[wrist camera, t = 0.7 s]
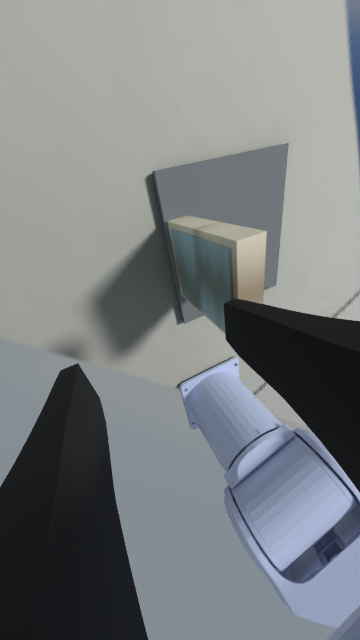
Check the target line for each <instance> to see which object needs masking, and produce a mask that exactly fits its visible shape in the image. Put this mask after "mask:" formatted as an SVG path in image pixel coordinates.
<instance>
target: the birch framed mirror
mask: <svg viewBox="0 0 360 640" xmlns="http://www.w3.org/2000/svg"><path fill="white" fill-rule="evenodd" d="M167 223H168V229H169V234H170V239H171V244H172V249H173V255H174V260H175V265H176V270H177V275H178V281H179V286H180V291H181V295H182V296H183V297H184V298H185V299H186V300H188V301H189V302H190V303H191V304H192V305H193V306H194V307H196V308H197V309H198V310H199V311H200V312H201V313H202V314H203V315H205V316H206V317H207V318H208V319H209V320H210V321H211V322H212V323H214V324H215V325H216V326H217V327H218V328H219V329H220V330H221V331H223V332H224V333H225V319H224V305H223V303H226V302H228V301H230V300H233V299H242V300H247V301H251V302H256V303H260V304H263V294H264V275H265V256H266V237H267V231H264V230H259V229H254V228H249V227H243V226H238V225H233V224H228V223H223V222H218V221H213V220H207V219H202V218H197V217H192V216H184V217H180V218H176V219H173V220H169V221H167Z"/></svg>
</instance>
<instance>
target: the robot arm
mask: <svg viewBox="0 0 360 640" xmlns="http://www.w3.org/2000/svg"><path fill="white" fill-rule="evenodd" d="M223 305H224V319H225V334H226V340H227V342H228V343H229V344H230V345H231V347H232V348H233V349H234V350H235V352H236V353H237V354H238V355H239V356H240V357H241V358H242V359H243V360H244V361H245V362H246V363H247V364H248V365H249V366H250V367H251V368H252V369H253V370H254V371H255V372H256V373H257V374H258V375H260V376H261V377H262V378H263V379H264V380H265V381H266V382H267V383H268V384H269V385H270V386H271V387H272V388H273V389H274V390H276V391H277V392H278V393H279V394H280V395H281V396H282V397H283V398H284V399H285V400H286V402H287V403H288V404H289V405H290V406H291V407H292V408H293V410H294V411H295V412H296V413H297V414H298V415H299V416H300V418H301V419H302V420H303V421H304V422H305V423H306V425H307V426H308V427H309V428H310V429H311V431H312V432H313V433H314V434H315V435H316V436H315V435H314V434H313V433H311V432H310V431H308V430H303V429H300V428H296V429H295V430H293V431H292V430H291V429H290V428H289V427H288V426H287V425H286V424H283V425H282V424H281V423H280V422H279V421H278V420H277V419H276V418H275V417H274V416H273V415H272V414H271V412H270V411H269V410H268V409H267V408H266V407H265V406H264V405H263V404H262V403H261V402H260V401H259V400H258V398H257V397H256V396H255V395H254V394H253V393H252V392H251V391H250V390H249V389H248V388H247V387H246V386H245V384H244V383H243V382H242V381H241V380H240V379H239V359H238V358H237V357H234V358H232V359H230V360H227V361H225V362H223V363H221V364H219V365H217V366H215V367H213V368H211V369H209V370H207V371H205V372H203V373H201V374H199V375H197V376H195V377H193V378H191V379H189V380H187V381H185V382H183V383H181V385H180V390H181V394H182V397H183V401H184V405H185V408H186V412H187V416H188V420H189V423H190V427H191V429H195V428H197V427H199V428H200V430H201V431H202V433H203V435H204V437H205V439H206V440H207V442H208V444H209V446H210V447H211V449H212V451H213V453H214V454H215V456H216V458H217V460H218V461H219V463H220V465H221V466H222V468H223V469H224V470H225V471H226V473H225V474H224V478H225V480H226V481H227V483H228V486H227V487H226V488H225V491H224V494H225V497H224V498H225V499H224V503H225V507H226V511H227V513H228V516H229V519H230V521H231V523H232V525H233V527H234V529H235V532H236V533H237V535H238V537H239V539H240V541H241V543H242V545H243V546H244V548H245V550H246V551H247V553H248V554H249V556H250V557H251V559H252V560H253V562H254V563H255V564H256V566H257V567H258V568H259V570H260V571H261V572H262V573H264V575H265V576H266V577H267V579H268V580H269V582H270V583H271V585H272V586H273V588H274V589H275V591H276V593H277V594H278V596H279V597H280V599H281V601H282V602H283V603H284V604H286V605H287V606H288V607H289V609H290V611H291V612H292V614H294V615H296V616H298V617H300V618H303V619H307V620H310V621H313V622H317V623H321V624H325V625H328V626H332V627H335V628H337V629H336V630H335V632H333V634H331V635H330V636H329V638H328V639H327V640H360V321H352V320H344V319H336V318H329V317H322V316H317V315H311V314H306V313H300V312H296V311H291V310H286V309H282V308H277V307H273V306H269V305H264V304H260V303H256V302H251V301H247V300H242V299H233V300H230V301H228V302H226V303H223ZM0 640H148V637H147V634H146V630H145V626H144V622H143V618H142V614H141V610H140V606H139V602H138V597H137V593H136V589H135V585H134V581H133V577H132V572H131V568H130V564H129V559H128V555H127V551H126V546H125V542H124V538H123V533H122V528H121V524H120V519H119V514H118V510H117V505H116V499H115V493H114V486H113V478H112V469H111V461H110V452H109V444H108V435H107V428H106V421H105V417H104V413H103V409H102V405H101V401H100V398H99V396H98V395H97V393H96V391H95V390H94V388H93V386H92V385H91V384H90V382H89V380H88V379H87V377H86V375H85V374H84V372H83V371H82V369H81V368H80V366H79V364H75V365H73V366H70V367H68V368H66V369H63V370H61V371H60V373H59V375H58V377H57V379H56V381H55V383H54V385H53V388H52V390H51V392H50V394H49V396H48V399H47V401H46V403H45V405H44V407H43V409H42V411H41V413H40V415H39V417H38V419H37V421H36V423H35V425H34V427H33V429H32V431H31V433H30V435H29V437H28V439H27V441H26V443H25V445H24V446H23V449H22V450H21V452H20V454H19V456H18V458H17V459H16V461H15V463H14V465H13V467H12V468H11V470H10V472H9V473H8V475H7V477H6V478H5V480H4V482H3V483H2V485H1V487H0Z"/></svg>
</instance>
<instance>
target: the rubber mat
mask: <svg viewBox="0 0 360 640" xmlns="http://www.w3.org/2000/svg"><path fill="white" fill-rule="evenodd" d="M287 155H288V143H287V144H282V145H277V146H272V147H267V148H263V149H258V150H253V151H248V152H244V153H239V154H234V155H229V156H225V157H220V158H215V159H210V160H205V161H201V162H196V163H191V164H186V165H182V166H177V167H172V168H167V169H162V170H158V171H153V177H154V182H155V187H156V192H157V197H158V201H159V206H160V211H161V216H162V221H163V226H164V231H165V236H166V241H167V246H168V251H169V256H170V260H171V265H172V270H173V275H174V280H175V285H176V290H177V295H178V300H179V305H180V310H181V314H182V319H183V322H184V323H187V322H189V321H192V320H194V319H196V318H199V317H201V316H204V315H203V314H202V313H201V312H200V311H199V310H198V309H197V308H196V307H194V306H193V305H192V304H191V303H190V302H189V301H188V300H186V299H185V298H184V297H183V296H182V295H181V291H180V286H179V281H178V275H177V270H176V265H175V260H174V255H173V249H172V244H171V239H170V234H169V229H168V223H167V221H169V220H173V219H176V218H180V217H184V216H192V217H197V218H202V219H207V220H213V221H218V222H223V223H228V224H233V225H238V226H243V227H249V228H254V229H259V230H264V231H267V237H266V256H265V275H264V290H266V289H268V288H271V287H273V286H275V285H276V281H277V269H278V258H279V247H280V235H281V224H282V212H283V201H284V189H285V178H286V166H287Z"/></svg>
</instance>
